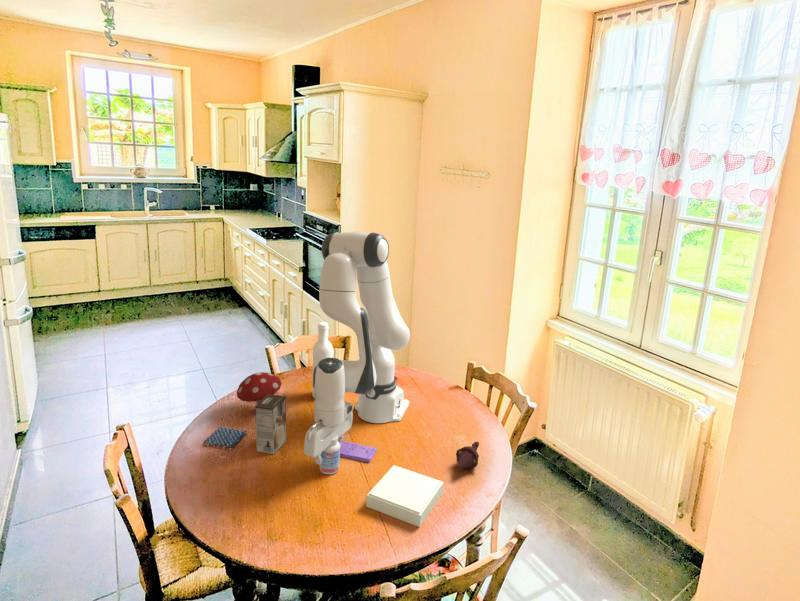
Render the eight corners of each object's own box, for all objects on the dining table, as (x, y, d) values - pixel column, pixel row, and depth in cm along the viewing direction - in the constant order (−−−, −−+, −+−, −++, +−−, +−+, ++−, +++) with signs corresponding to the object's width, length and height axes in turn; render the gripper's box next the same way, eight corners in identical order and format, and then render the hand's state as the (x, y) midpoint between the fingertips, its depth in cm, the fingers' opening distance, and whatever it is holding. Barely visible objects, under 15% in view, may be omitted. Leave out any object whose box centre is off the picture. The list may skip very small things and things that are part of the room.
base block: (393, 475, 152) (393, 463, 151) (442, 492, 146) (443, 480, 144) (366, 506, 138) (366, 493, 137) (419, 527, 132) (420, 514, 131)
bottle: (307, 396, 198) (308, 323, 189) (322, 389, 204) (322, 318, 195) (323, 402, 193) (323, 328, 185) (337, 395, 200) (338, 323, 191)
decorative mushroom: (271, 425, 176) (270, 386, 172) (228, 419, 178) (226, 380, 174) (289, 404, 191) (288, 367, 187) (249, 398, 193) (248, 362, 189)
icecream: (473, 465, 148) (489, 445, 162) (451, 451, 151) (469, 433, 164) (464, 484, 151) (482, 463, 164) (443, 470, 154) (462, 450, 167)
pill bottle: (320, 476, 150) (321, 442, 147) (318, 464, 156) (318, 431, 153) (341, 474, 152) (341, 440, 149) (338, 462, 157) (338, 429, 154)
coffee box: (268, 436, 169) (267, 392, 164) (286, 439, 168) (286, 395, 163) (255, 451, 160) (254, 405, 156) (274, 455, 159) (273, 408, 155)
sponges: (369, 464, 158) (370, 459, 157) (332, 456, 161) (332, 451, 161) (377, 452, 164) (377, 447, 164) (340, 444, 168) (340, 439, 167)
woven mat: (218, 430, 172) (218, 425, 171) (248, 435, 170) (247, 429, 170) (201, 447, 162) (201, 441, 162) (232, 452, 160) (232, 446, 160)
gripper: (317, 432, 138) (316, 476, 142) (356, 402, 156) (355, 442, 160) (298, 425, 141) (298, 469, 145) (339, 397, 158) (338, 436, 162)
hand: (328, 454), depth 152 cm, fingers open, 8 cm apart
